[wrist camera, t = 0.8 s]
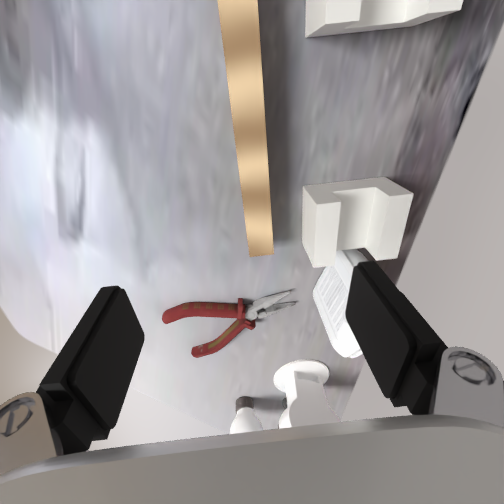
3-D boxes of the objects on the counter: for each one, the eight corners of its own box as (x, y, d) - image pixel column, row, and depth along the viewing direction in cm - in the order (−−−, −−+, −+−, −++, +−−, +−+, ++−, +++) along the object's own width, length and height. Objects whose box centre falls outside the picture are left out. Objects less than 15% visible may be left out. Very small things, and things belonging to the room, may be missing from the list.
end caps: (307, -99, 20) (334, -164, 14) (437, -112, 20) (509, -181, 15) (301, 242, 36) (313, 267, 31) (373, 234, 36) (397, 258, 31)
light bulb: (226, 396, 55) (225, 458, 46) (257, 390, 55) (262, 452, 45) (233, 411, 59) (234, 472, 49) (263, 406, 58) (269, 466, 49)
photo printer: (331, 299, 42) (365, 369, 32) (307, 295, 41) (334, 365, 31) (363, 247, 37) (416, 309, 26) (337, 240, 36) (380, 302, 26)
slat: (209, -66, 20) (205, -97, 17) (247, -71, 20) (250, -102, 17) (248, 240, 35) (249, 257, 32) (269, 238, 35) (273, 254, 32)
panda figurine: (261, 386, 54) (270, 477, 41) (287, 353, 49) (308, 446, 36) (309, 395, 57) (332, 483, 45) (339, 366, 52) (374, 455, 39)
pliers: (301, 315, 44) (305, 327, 42) (195, 349, 47) (194, 362, 45) (280, 265, 38) (283, 275, 36) (161, 308, 41) (157, 320, 39)
